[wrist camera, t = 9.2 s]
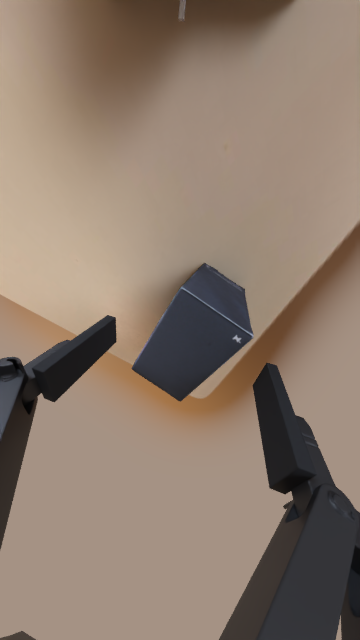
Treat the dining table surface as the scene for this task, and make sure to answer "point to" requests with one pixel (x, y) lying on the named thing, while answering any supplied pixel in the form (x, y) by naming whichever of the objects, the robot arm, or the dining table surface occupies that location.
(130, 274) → the dining table surface
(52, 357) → the robot arm
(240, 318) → the small box
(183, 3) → the frame stand
